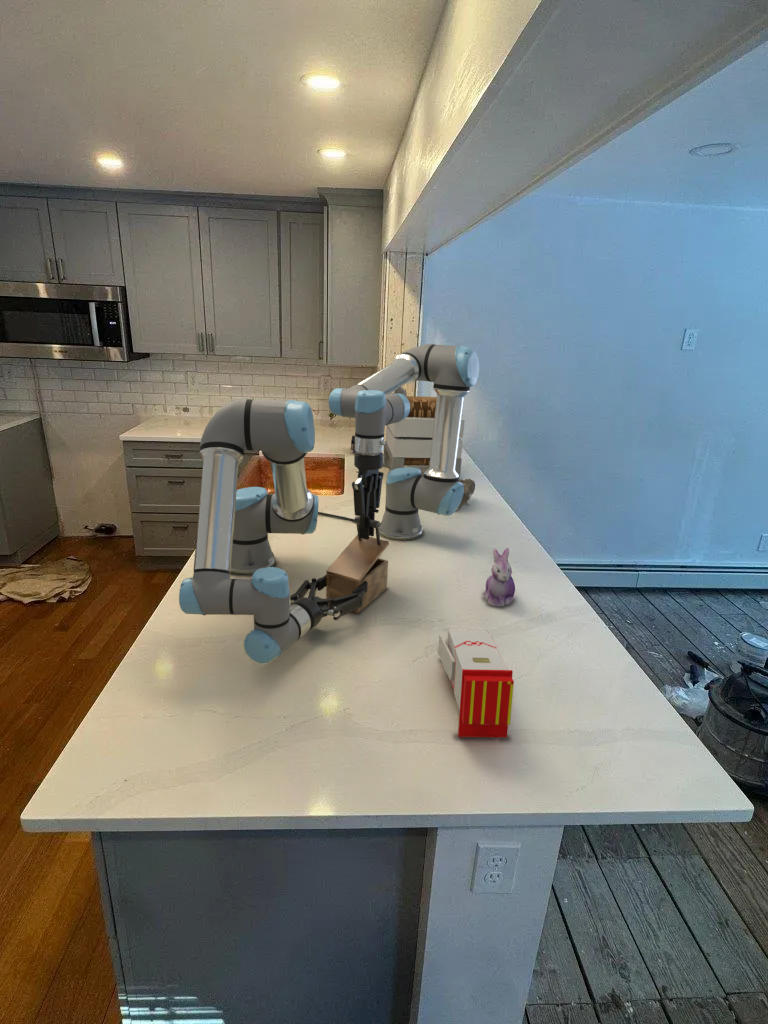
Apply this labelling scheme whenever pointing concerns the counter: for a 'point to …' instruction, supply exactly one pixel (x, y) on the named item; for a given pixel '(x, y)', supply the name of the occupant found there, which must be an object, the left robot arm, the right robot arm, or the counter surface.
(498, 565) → the figurine
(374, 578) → the chest
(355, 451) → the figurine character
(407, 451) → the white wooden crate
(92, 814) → the counter surface
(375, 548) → the lid
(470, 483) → the fossil
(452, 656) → the toy
